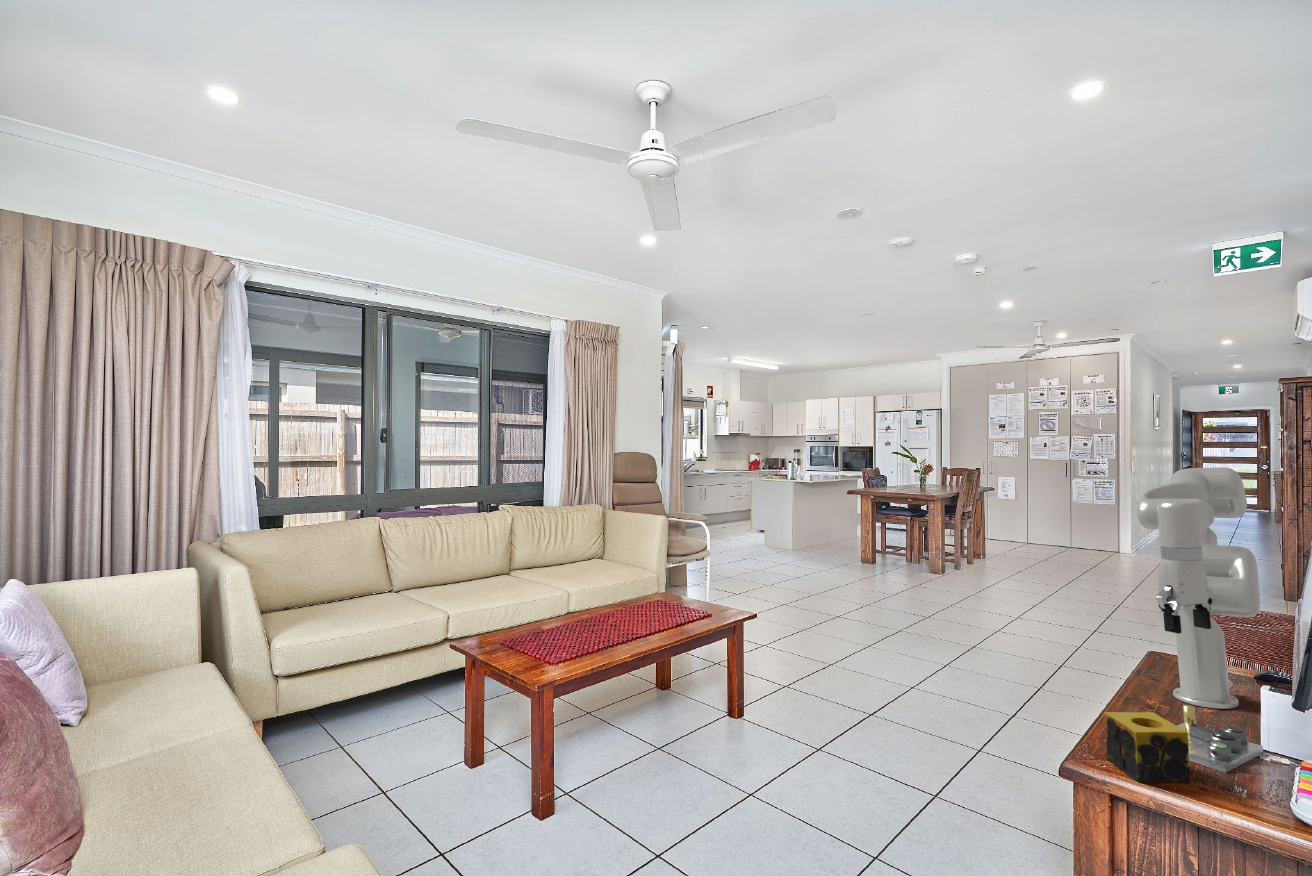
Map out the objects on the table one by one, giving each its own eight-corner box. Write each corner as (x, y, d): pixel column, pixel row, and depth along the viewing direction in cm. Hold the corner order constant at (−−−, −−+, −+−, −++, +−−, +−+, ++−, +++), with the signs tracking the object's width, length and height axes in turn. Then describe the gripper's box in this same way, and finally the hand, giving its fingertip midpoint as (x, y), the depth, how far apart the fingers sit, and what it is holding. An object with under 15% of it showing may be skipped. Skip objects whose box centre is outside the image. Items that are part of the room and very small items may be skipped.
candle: (1105, 759, 132) (1101, 711, 133) (1157, 759, 131) (1152, 711, 132) (1137, 784, 122) (1133, 731, 123) (1193, 784, 121) (1188, 731, 122)
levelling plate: (1185, 729, 145) (1183, 711, 145) (1264, 752, 132) (1262, 732, 132) (1145, 746, 137) (1143, 727, 138) (1225, 772, 125) (1223, 751, 125)
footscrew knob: (1247, 750, 130) (1245, 721, 130) (1228, 753, 129) (1225, 724, 129) (1195, 729, 140) (1193, 703, 141) (1177, 732, 139) (1174, 706, 140)
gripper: (1189, 550, 151) (1195, 622, 150) (1138, 555, 146) (1144, 630, 145) (1225, 553, 144) (1232, 629, 143) (1173, 559, 139) (1179, 637, 138)
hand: (1188, 630), depth 144 cm, fingers open, 9 cm apart
